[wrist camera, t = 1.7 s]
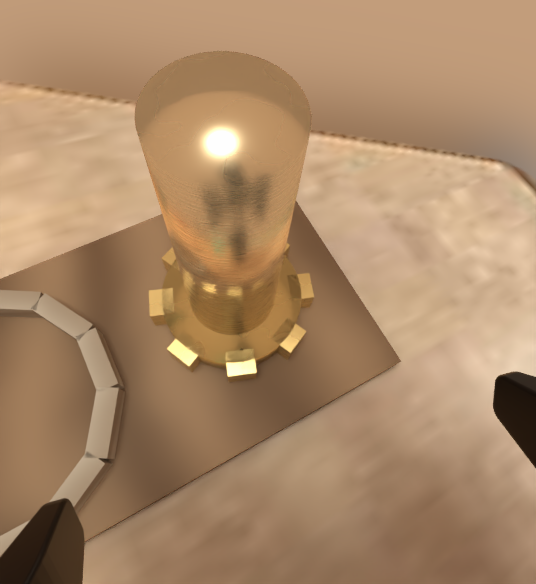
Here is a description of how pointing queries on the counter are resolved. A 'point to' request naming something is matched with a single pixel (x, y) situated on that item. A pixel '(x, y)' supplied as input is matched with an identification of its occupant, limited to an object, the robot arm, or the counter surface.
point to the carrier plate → (149, 379)
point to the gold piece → (227, 207)
